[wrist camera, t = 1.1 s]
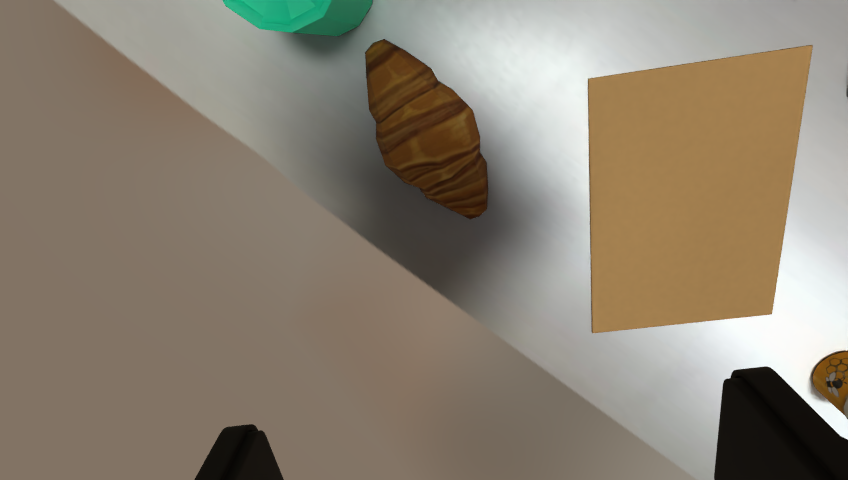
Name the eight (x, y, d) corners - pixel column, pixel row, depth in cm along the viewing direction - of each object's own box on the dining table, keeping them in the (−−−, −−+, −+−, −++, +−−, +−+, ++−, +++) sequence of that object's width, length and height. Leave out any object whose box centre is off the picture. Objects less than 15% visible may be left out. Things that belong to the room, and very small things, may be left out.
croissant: (332, 73, 32) (314, 78, 27) (417, 13, 30) (413, 7, 25) (438, 232, 36) (437, 260, 31) (517, 187, 34) (529, 209, 30)
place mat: (587, 78, 31) (588, 78, 31) (810, 45, 30) (812, 45, 30) (591, 332, 39) (592, 333, 39) (770, 313, 38) (771, 314, 37)
